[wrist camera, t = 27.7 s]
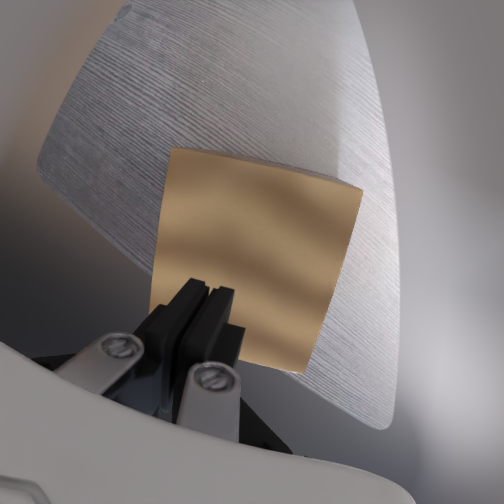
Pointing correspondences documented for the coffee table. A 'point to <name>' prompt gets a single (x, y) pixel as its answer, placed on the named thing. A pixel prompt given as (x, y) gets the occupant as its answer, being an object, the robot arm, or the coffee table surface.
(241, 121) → the coffee table surface
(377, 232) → the coffee table surface
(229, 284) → the lid
